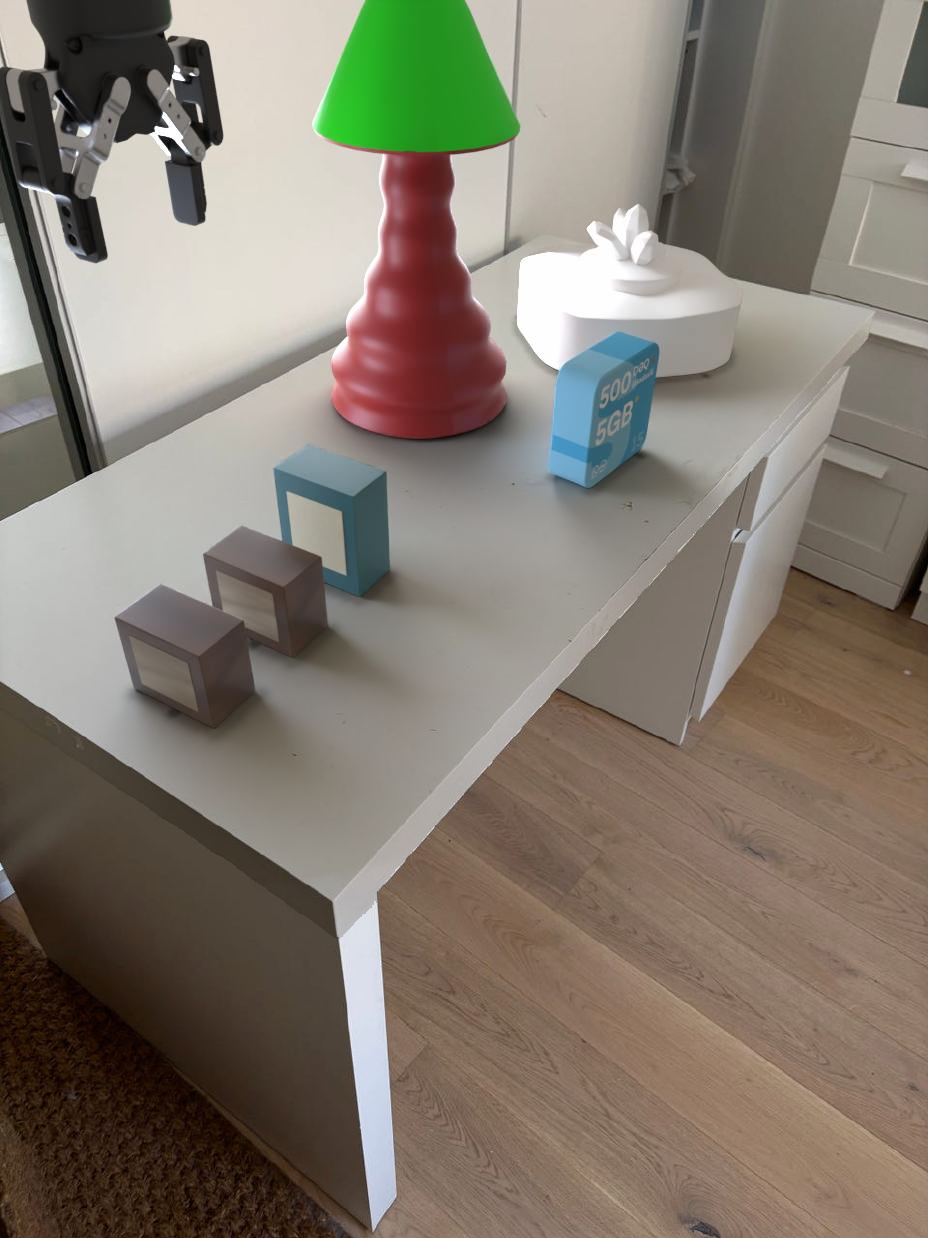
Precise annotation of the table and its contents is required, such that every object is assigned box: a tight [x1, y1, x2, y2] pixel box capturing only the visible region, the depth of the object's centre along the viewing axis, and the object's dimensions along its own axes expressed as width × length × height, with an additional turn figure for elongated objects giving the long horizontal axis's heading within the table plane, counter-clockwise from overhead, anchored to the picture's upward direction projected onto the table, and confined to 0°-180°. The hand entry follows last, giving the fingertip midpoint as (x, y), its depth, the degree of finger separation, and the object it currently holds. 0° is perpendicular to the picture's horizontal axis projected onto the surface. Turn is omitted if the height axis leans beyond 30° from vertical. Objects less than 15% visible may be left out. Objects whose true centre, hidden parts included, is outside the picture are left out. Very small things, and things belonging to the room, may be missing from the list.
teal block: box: [272, 443, 391, 597], centre depth 81 cm, size 5×8×10 cm, turn 59°
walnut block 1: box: [113, 583, 256, 729], centre depth 70 cm, size 5×8×7 cm, turn 59°
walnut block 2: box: [202, 524, 329, 658], centre depth 76 cm, size 5×8×7 cm, turn 59°
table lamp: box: [312, 0, 521, 440], centre depth 95 cm, size 20×20×45 cm
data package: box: [548, 332, 659, 489], centre depth 96 cm, size 12×4×12 cm, turn 142°
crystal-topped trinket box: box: [516, 203, 744, 379], centre depth 119 cm, size 25×25×16 cm
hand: (143, 240), depth 61 cm, fingers open, 8 cm apart
